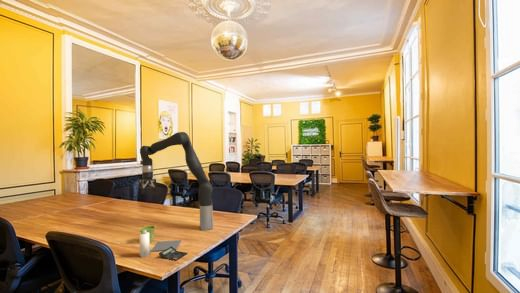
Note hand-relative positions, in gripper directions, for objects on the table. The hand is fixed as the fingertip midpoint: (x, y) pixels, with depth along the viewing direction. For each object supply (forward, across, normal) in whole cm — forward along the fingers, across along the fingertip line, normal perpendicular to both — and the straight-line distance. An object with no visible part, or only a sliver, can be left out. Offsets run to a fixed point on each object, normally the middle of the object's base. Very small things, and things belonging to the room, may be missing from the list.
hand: (148, 193), depth 184 cm
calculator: (+33, -30, -52) cm, 68 cm away
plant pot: (+29, -20, -22) cm, 41 cm away
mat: (+31, -21, -39) cm, 54 cm away
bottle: (+31, -35, -37) cm, 60 cm away
